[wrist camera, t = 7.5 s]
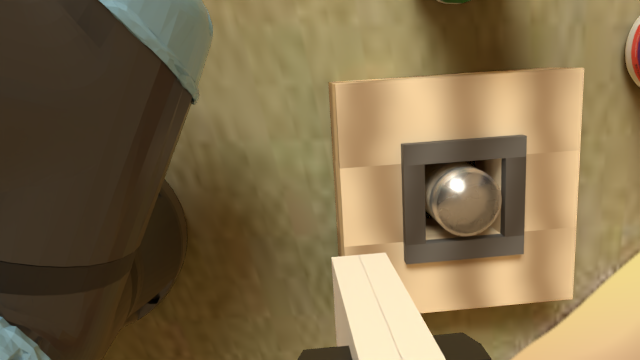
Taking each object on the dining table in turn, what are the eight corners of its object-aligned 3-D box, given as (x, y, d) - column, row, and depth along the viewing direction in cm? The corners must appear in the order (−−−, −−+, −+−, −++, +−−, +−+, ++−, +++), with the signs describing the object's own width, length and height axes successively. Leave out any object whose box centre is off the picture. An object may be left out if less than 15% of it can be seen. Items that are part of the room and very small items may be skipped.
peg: (414, 216, 43) (434, 238, 38) (413, 158, 42) (433, 172, 36) (472, 211, 43) (501, 233, 38) (473, 153, 42) (502, 166, 37)
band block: (340, 291, 45) (349, 325, 39) (328, 82, 41) (336, 84, 35) (540, 273, 46) (578, 303, 40) (547, 67, 42) (590, 67, 36)
